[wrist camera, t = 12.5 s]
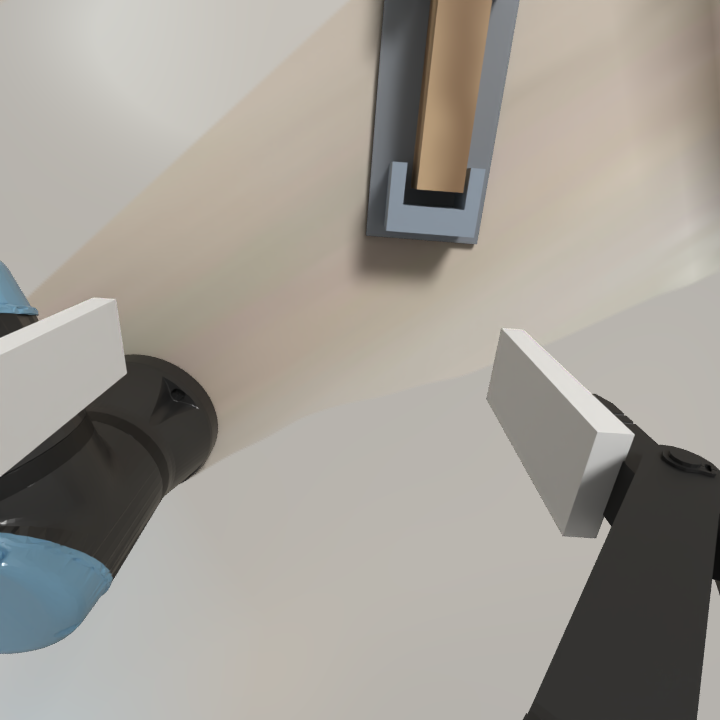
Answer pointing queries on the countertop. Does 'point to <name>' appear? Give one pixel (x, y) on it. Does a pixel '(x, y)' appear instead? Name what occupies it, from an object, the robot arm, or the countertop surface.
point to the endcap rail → (399, 125)
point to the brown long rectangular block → (449, 93)
